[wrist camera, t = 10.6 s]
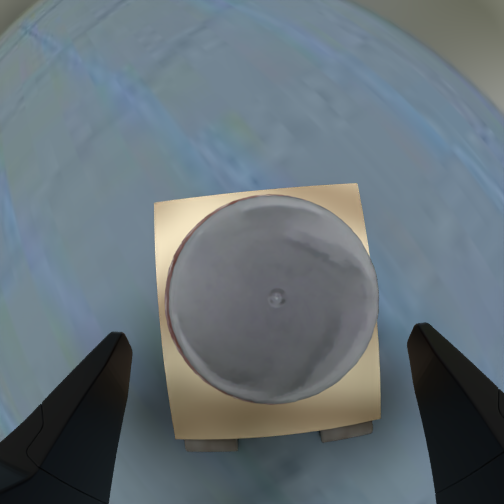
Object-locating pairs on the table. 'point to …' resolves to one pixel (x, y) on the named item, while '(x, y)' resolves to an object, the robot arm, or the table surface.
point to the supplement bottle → (271, 299)
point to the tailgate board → (246, 413)
